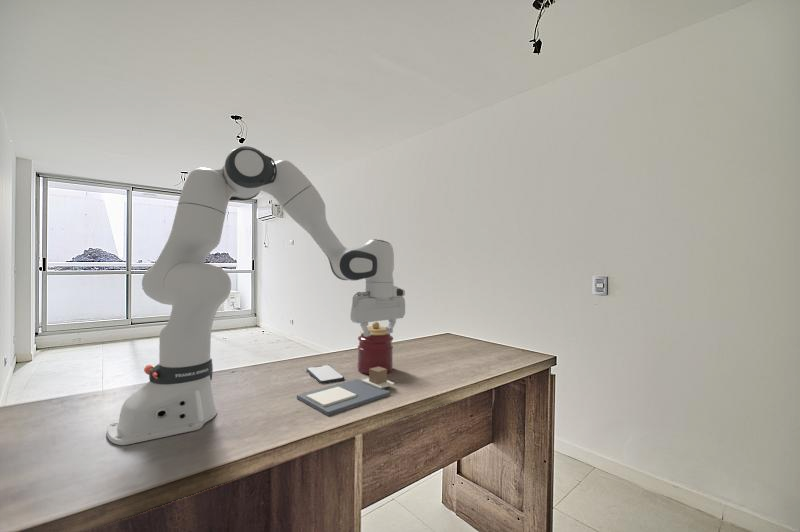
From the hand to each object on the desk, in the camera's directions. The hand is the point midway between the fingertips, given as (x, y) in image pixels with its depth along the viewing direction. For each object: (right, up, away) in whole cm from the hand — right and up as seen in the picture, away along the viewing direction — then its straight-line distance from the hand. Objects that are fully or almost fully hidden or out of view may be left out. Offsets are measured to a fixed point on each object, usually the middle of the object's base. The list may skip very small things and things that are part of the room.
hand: (378, 334), depth 117 cm
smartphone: (-19, -17, +11) cm, 28 cm away
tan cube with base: (0, -16, +1) cm, 16 cm away
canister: (-2, -17, +18) cm, 25 cm away
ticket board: (-10, -17, -8) cm, 21 cm away
